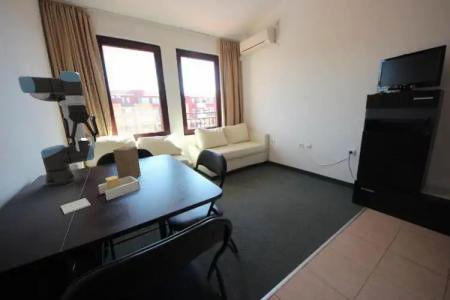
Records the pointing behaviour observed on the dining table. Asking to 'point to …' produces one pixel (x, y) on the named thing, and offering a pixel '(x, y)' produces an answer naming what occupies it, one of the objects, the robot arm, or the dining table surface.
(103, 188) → the white u-shaped frame
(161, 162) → the dining table surface
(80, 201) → the tile
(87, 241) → the dining table surface
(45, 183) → the robot arm
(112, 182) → the block
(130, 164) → the wooden block
